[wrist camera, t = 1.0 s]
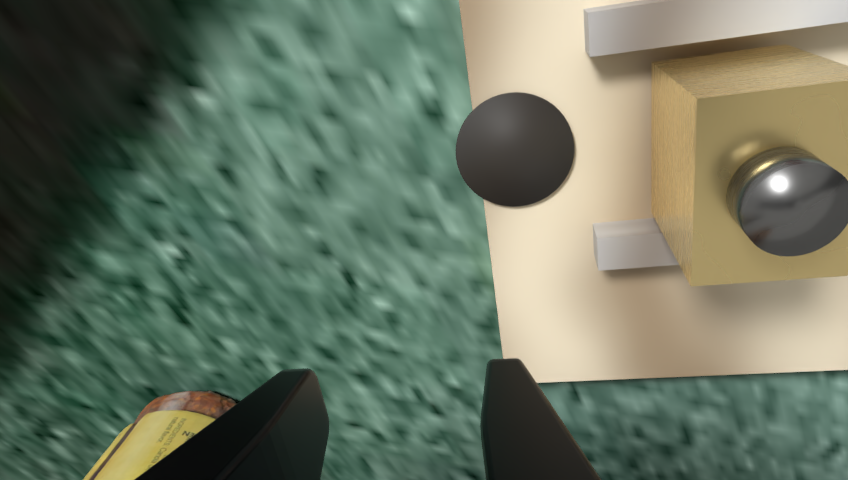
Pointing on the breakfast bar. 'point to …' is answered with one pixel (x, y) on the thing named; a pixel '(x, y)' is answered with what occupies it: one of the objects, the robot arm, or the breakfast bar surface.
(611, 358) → the plate
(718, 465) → the breakfast bar surface
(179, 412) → the sauce bottle
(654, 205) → the block
